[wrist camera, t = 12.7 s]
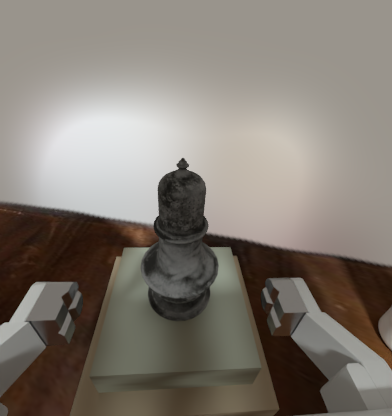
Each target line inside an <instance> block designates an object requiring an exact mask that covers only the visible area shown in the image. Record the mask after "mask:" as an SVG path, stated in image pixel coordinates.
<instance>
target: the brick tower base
mask: <svg viewBox="0 0 392 416" xmlns="http://www.w3.org/2000/svg"><path fill="white" fill-rule="evenodd" d="M210 248H211V249H212V250H213V252H214V253H215V255H216V257H217V260H218V265H219V267H218V275H217V277H216V279H215V281H214V283H213V284H212V285H211V286H210V299H209V302H208V304H207V306H206V308H205V309H204V310H203V311H202V312H201V314H199V315H197V316H196V317H194V318H192V319H189V320H186V321H172V320H167V319H165V318H163V317H161V316H159V315H158V314H157V313H156V312H155V311H154V310H153V308H152V307H151V305H150V303H149V298H148V288H149V286H148V285H147V284H146V282H145V281H144V279H143V277H142V273H141V262H142V258H143V256H144V254H145V252H146V251H147V250H148V249H149V248H124V250H123V254H122V257H116V261H115V264H114V268H113V271H112V274H111V278H110V281H109V285H108V288H107V291H106V295H105V298H104V301H103V305H102V308H101V312H100V315H99V318H98V322H97V325H96V328H95V332H94V335H93V339H92V342H91V345H90V349H89V352H88V356H87V359H86V362H85V366H84V369H83V372H82V376H81V379H80V383H79V386H78V389H77V393H76V396H75V399H74V403H73V406H72V410H71V413H70V416H274V415H275V414H276V413H277V411H278V410H279V406H278V402H277V398H276V395H275V391H274V388H273V384H272V381H271V377H270V373H269V370H268V366H267V363H266V359H265V355H264V352H263V348H262V345H261V341H260V337H259V334H258V330H257V327H256V323H255V320H254V316H253V312H252V309H251V305H250V302H249V298H248V294H247V291H246V287H245V284H244V280H243V276H242V273H241V269H240V266H239V262H238V259H237V256H233V255H232V251H231V247H210Z"/></svg>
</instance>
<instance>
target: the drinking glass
mask: <svg viewBox="0 0 392 416" xmlns="http://www.w3.org/2000/svg"><path fill="white" fill-rule="evenodd" d="M378 329H379V333H380V335H381V337H382V339H383V341H384V342H385V344H386V345H387V346H388V348H389V349H390V350H391V351H392V306H391V307H390V308H389V309H388V310H387V311H386V312H385V313H384V314H383V315H382V316H381V318H380V319H379V322H378Z"/></svg>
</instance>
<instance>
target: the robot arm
mask: <svg viewBox="0 0 392 416" xmlns="http://www.w3.org/2000/svg"><path fill="white" fill-rule="evenodd" d="M265 285H266V287H265V288H264V289H262V292H261V303H262V307H263V310H264V312H265V313H267V314H268V315H269V316H268V319H267V323H268V326H269V329H270V332H271V335H272V336H291V338H292V339H293V340H294V341H295V342H296V343H297V344H298V346H299V347H300V348H301V349H302V350H303V351H304V352H305V353H306V355H307V356H308V357H309V358H310V359H311V360H312V361H313V363H314V364H315V365H316V366H317V367H318V368H319V369H320V370H321V372H322V373H323V374H324V375H325V376H326V377H327V378H328V380H329V381H328V382H327V383H326V384H325V385H324V386H323V387H322V388H321V390H320V392H321V395H322V397H323V400H324V402H325V405H326V407H327V410H328V412H329V413H322V414H308V415H295V416H392V371H391V369H390V368H389V366H388V365H387V363H386V362H385V360H383V359H382V358H381V357H380V356H378V355H377V354H376V353H375V352H374V351H372V350H371V349H370V348H369V347H367V346H366V345H365V344H364V343H362V342H361V341H360V340H359V339H357V338H356V337H355V336H354V335H352V334H351V333H350V332H349V331H347V330H346V329H345V328H344V327H342V326H341V325H340V324H339V323H337V322H336V321H335V320H334V319H332V318H331V317H330V316H329V315H327V314H326V313H325V312H321V311H320V309H319V307H318V305H317V303H316V301H315V300H314V298H313V296H312V294H311V292H310V291H309V289H308V287H307V285H306V283H305V282H304V280H303V279H302V278H268V279H267V280H266V282H265ZM78 287H79V286H78V284H77V282H35V283H34V284H33V285H32V286H31V287H30V289H29V291H28V292H27V294H26V295H25V297H24V299H23V300H22V302H21V304H20V305H19V307H18V308H17V310H16V312H15V313H14V315H13V316H12V318H11V320H10V321H9V322H5V323H3V324H2V325H1V326H0V397H1V396H2V395H3V393H4V392H5V391H6V390H7V389H8V388H9V387H10V386H11V385H12V384H13V383H14V382H15V381H16V379H17V378H18V377H19V376H20V375H21V374H22V373H23V372H24V371H25V370H26V369H27V368H28V366H29V365H30V364H31V363H32V362H33V361H34V360H35V359H36V358H37V357H38V356H39V355H40V353H41V352H42V351H43V350H44V349H45V348H46V346H51V345H65V344H69V343H70V340H71V338H72V335H73V332H74V330H75V324H74V321H75V320H76V319H77V318H78V317H79V316H80V313H81V310H82V305H83V297H82V294H81V293H80V292H78V291H77V290H78ZM7 414H8V409H7V407H6V406H4V405H3V404H1V403H0V416H7Z"/></svg>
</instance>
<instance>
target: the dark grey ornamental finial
mask: <svg viewBox="0 0 392 416" xmlns="http://www.w3.org/2000/svg"><path fill="white" fill-rule="evenodd" d="M177 167H178V168H179V169H178V170H176V171H173V172H170V173H168V174H166V175H165V176H164V177H163V178H162V179H161V180H160V182H159V186H158V202H159V216H158V217H157V218H156V220H155V221H154V230H155V233H156V234H157V235H158V237H159V241H158V242H157V243H155V244H154V245H152V246H151V247H150V248H149V249H148V250H147V251H146V252H145V254H144V256H143V258H142V262H141V273H142V277H143V279H144V281H145V282H146V284H147V285H148V286H149V288H148V298H149V303H150V305H151V307H152V308H153V310H154V311H155V312H156V313H157V314H158V315H159V316H161V317H163V318H165V319H167V320H172V321H186V320H189V319H192V318H194V317H196V316H197V315H199V314H201V312H202V311H203V310H204V309H205V308H206V306H207V304H208V302H209V299H210V286H211V285H212V284H213V283H214V281H215V279H216V277H217V275H218V267H219V265H218V260H217V257H216V255H215V253H214V252H213V250H212V249H211V248H210V247H209V246H208V245H206V244H205V243H203V242H202V237H203V236H204V235H205V234H206V232H207V229H208V222H207V220H206V218H205V217H204V216H203V215H204V204H205V195H206V187H205V182H204V181H203V180H202V178H201V177H200V176H199V175H197V174H196V173H194V172H191V171H189V170H187V169H186V168H187V167H189V165H188V164H187V162H186V161H185V159H184V158H182V159H181V160H180V161H179V163H178V164H177Z"/></svg>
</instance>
